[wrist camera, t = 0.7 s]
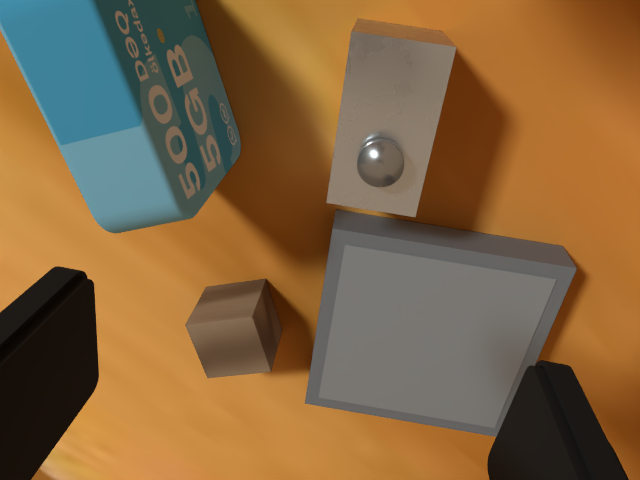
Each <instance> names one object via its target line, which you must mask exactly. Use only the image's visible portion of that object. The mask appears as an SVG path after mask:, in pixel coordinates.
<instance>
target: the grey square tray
mask: <svg viewBox="0 0 640 480" xmlns="http://www.w3.org/2000/svg"><path fill="white" fill-rule="evenodd" d="M576 270H577V267H576V266H575V264H574V263H573V261H572V260H571V258H570V257H569V255H568V254H567V252H566V250H565V249H564V247H563V246H559V245H553V244H546V243H540V242H534V241H528V240H522V239H516V238H509V237H503V236H497V235H491V234H485V233H478V232H472V231H466V230H460V229H454V228H448V227H441V226H435V225H429V224H423V223H417V222H410V221H404V220H398V219H392V218H386V217H380V216H373V215H367V214H361V213H355V212H349V211H342V210H336V212H335V217H334V223H333V228H332V234H331V241H330V247H329V253H328V260H327V266H326V272H325V279H324V285H323V292H322V298H321V304H320V311H319V317H318V323H317V330H316V336H315V342H314V349H313V355H312V361H311V368H310V374H309V380H308V387H307V393H306V400H305V404H311V405H317V406H323V407H328V408H334V409H340V410H346V411H351V412H357V413H363V414H369V415H374V416H380V417H386V418H391V419H397V420H403V421H409V422H414V423H420V424H426V425H432V426H437V427H443V428H449V429H455V430H460V431H466V432H472V433H478V434H483V435H489V436H495V437H497V435H498V432H499V430H500V428H501V425H502V423H503V421H504V418H505V416H506V414H507V412H508V409H509V407H510V405H511V402H512V400H513V398H514V396H515V393H516V391H517V389H518V386H519V384H520V382H521V380H522V377H523V375H524V373H525V370H526V369H527V367H528V366H530V365H532V366H535V364H536V362H537V359H538V357H539V355H540V352H541V350H542V348H543V346H544V343H545V341H546V339H547V336H548V334H549V332H550V329H551V327H552V325H553V323H554V320H555V318H556V316H557V313H558V311H559V309H560V306H561V304H562V302H563V300H564V297H565V295H566V293H567V290H568V288H569V286H570V283H571V281H572V279H573V277H574V274H575V272H576Z"/></svg>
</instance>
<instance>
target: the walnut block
mask: <svg viewBox="0 0 640 480" xmlns="http://www.w3.org/2000/svg"><path fill="white" fill-rule="evenodd" d="M186 328H187V330H188V333H189V335H190V337H191V340H192V342H193V344H194V347H195V349H196V352H197V354H198V356H199V359H200V361H201V364H202V366H203V368H204V371H205V373H206V376H207V378H214V377H224V376H234V375H244V374H254V373H264V372H271V370H272V366H273V362H274V359H275V355H276V351H277V348H278V344H279V340H280V337H281V333H282V328H281V324H280V321H279V318H278V315H277V312H276V309H275V305H274V302H273V299H272V296H271V293H270V290H269V286H268V283H267V280H266V279H260V280H253V281H246V282H238V283H231V284H224V285H217V286H209V287H206V288H205V290H204V292H203V294H202V295H201V297H200V299H199V301H198V303H197V305H196V306H195V308H194V310H193V312H192V314H191V316H190V317H189V319H188V321H187V323H186Z"/></svg>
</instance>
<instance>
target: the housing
mask: <svg viewBox="0 0 640 480" xmlns="http://www.w3.org/2000/svg"><path fill="white" fill-rule="evenodd" d="M455 52H456V46H455V45H454V44H453V43H452V41H451V40H450V39H449V38H448V37H447V36H446V35H445V34H444V33H443V32H442V31H440V30H433V29H427V28H420V27H413V26H407V25H400V24H393V23H387V22H380V21H373V20H367V19H360V18H357V21H356V23H355V25H354V27H353V29H352V31H351V38H350V45H349V52H348V59H347V65H346V72H345V79H344V86H343V93H342V99H341V106H340V113H339V120H338V127H337V133H336V140H335V147H334V154H333V161H332V167H331V174H330V181H329V188H328V195H327V201H326V203H330V204H336V205H342V206H349V207H355V208H361V209H367V210H373V211H379V212H386V213H392V214H398V215H404V216H410V217H416V213H417V208H418V204H419V200H420V196H421V192H422V188H423V184H424V180H425V175H426V171H427V167H428V163H429V159H430V155H431V151H432V146H433V142H434V138H435V134H436V130H437V126H438V122H439V118H440V113H441V109H442V105H443V101H444V97H445V93H446V89H447V85H448V80H449V76H450V72H451V68H452V64H453V60H454V56H455Z"/></svg>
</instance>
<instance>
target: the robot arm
mask: <svg viewBox="0 0 640 480" xmlns="http://www.w3.org/2000/svg"><path fill="white" fill-rule="evenodd" d="M98 378H99V370H98V351H97V332H96V313H95V293H94V283H93V281H92V280H90V279H87V275H86V273H85V272H83V271H79V270H74V269H69V268H64V267H54V268H52V269H51V270H50V271H49V272H48V273H46V274H45V275H44V276H43V277H42V278H40V279H39V280H38V281H37V282H36V283H35V284H33V285H32V286H31V287H30V288H29V289H28V290H26V291H25V292H24V293H23V294H22V295H20V296H19V297H18V298H17V299H16V300H15V301H13V302H12V303H11V304H10V305H9V306H8V307H6V308H5V309H4V310H3V311H2V312H1V313H0V480H31V479H32V477H33V476H34V475H35V473H36V472H37V470H38V469H39V468H40V466H41V465H42V463H43V462H44V461H45V459H46V458H47V456H48V455H49V454H50V452H51V451H52V449H53V448H54V447H55V445H56V444H57V442H58V441H59V440H60V438H61V437H62V435H63V434H64V433H65V431H66V430H67V428H68V427H69V426H70V424H71V423H72V421H73V420H74V419H75V417H76V416H77V414H78V413H79V412H80V410H81V409H82V407H83V406H84V405H85V403H86V402H87V400H88V399H89V398H90V396H91V395H92V393H93V392H94V390H95V388H96V386H97V382H98ZM488 474H489V479H490V480H629V479H628V477H627V475H626V473H625V471H624V469H623V467H622V465H621V463H620V461H619V459H618V457H617V455H616V453H615V451H614V449H613V448H612V446H611V445H610V443H609V442H608V440H607V438H606V436H605V434H604V432H603V430H602V428H601V426H600V424H599V422H598V420H597V418H596V416H595V414H594V412H593V410H592V408H591V406H590V404H589V402H588V400H587V398H586V396H585V394H584V392H583V390H582V388H581V386H580V384H579V382H578V380H577V378H576V376H575V374H574V372H573V370H572V368H571V367H570V366H568V365H564V364H558V363H553V362H548V361H543V360H541V361H539V362H537V363H536V365H535V366H532V365H530V366H528V367H527V369H526V370H525V373H524V375H523V377H522V380H521V382H520V384H519V386H518V389H517V391H516V393H515V396H514V398H513V400H512V402H511V405H510V407H509V409H508V412H507V414H506V416H505V418H504V421H503V423H502V425H501V428H500V430H499V432H498V435H497V437H496V439H495V441H494V444H493V446H492V448H491V451H490V453H489V456H488Z"/></svg>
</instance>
